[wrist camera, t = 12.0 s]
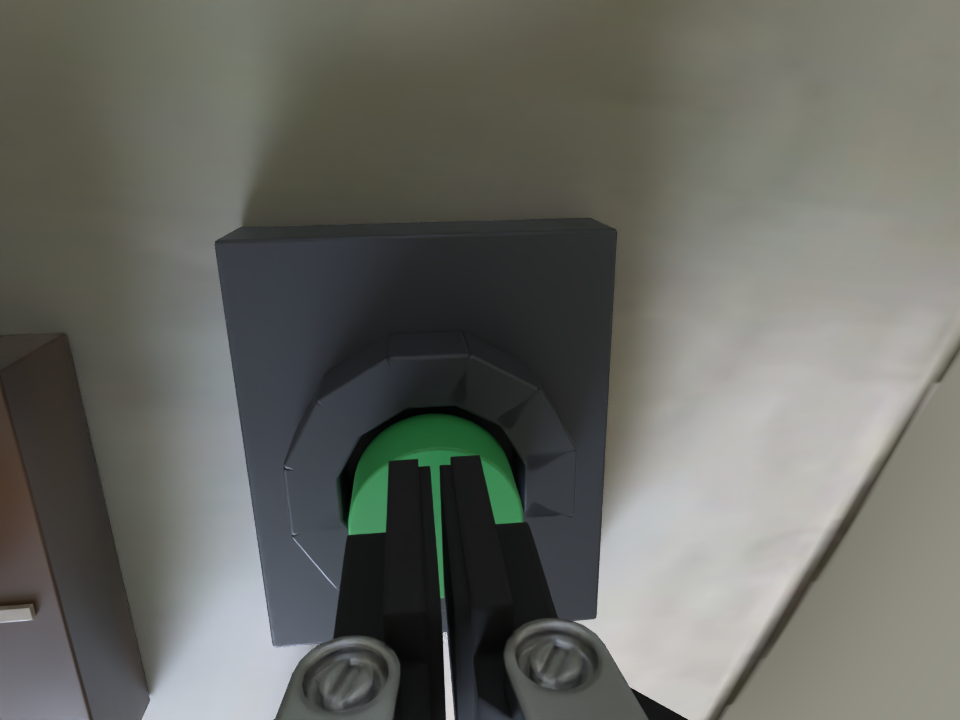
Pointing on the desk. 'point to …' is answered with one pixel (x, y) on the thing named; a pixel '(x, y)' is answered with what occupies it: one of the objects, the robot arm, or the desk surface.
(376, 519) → the release button
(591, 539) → the release housing
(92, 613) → the plate
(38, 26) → the desk surface
